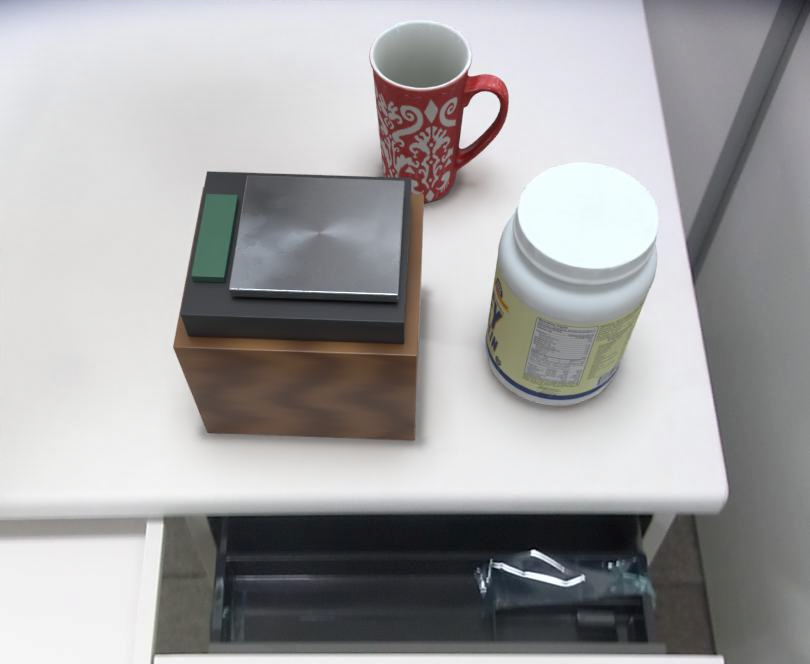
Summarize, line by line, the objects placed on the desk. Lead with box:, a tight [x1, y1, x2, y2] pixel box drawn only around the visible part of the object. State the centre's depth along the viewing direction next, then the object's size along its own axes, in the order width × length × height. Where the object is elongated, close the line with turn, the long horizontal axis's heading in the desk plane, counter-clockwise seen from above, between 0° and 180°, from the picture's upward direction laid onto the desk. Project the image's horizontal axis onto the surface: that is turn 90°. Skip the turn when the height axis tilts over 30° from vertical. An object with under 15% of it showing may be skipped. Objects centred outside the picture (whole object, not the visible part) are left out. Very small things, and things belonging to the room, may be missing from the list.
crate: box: [172, 186, 425, 441], centre depth 70 cm, size 18×16×12 cm
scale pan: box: [229, 176, 404, 302], centre depth 62 cm, size 12×11×1 cm
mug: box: [368, 19, 510, 203], centre depth 78 cm, size 13×9×14 cm
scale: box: [180, 170, 412, 344], centre depth 63 cm, size 16×14×3 cm
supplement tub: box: [484, 161, 660, 406], centre depth 68 cm, size 12×12×17 cm
